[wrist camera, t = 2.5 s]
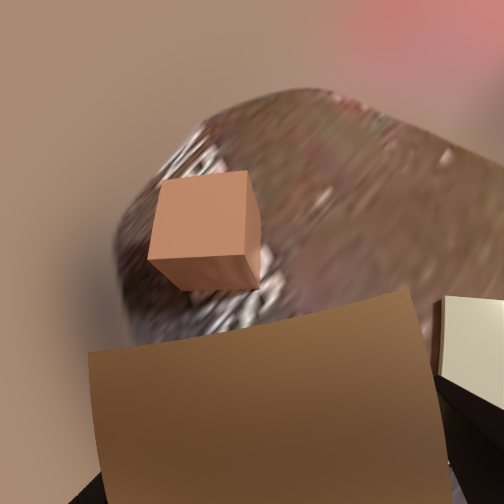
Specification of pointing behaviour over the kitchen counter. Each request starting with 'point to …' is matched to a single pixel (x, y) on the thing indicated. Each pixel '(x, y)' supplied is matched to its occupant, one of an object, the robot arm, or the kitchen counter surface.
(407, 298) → the brown block
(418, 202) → the kitchen counter surface
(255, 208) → the terracotta block
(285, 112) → the kitchen counter surface
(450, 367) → the pad
